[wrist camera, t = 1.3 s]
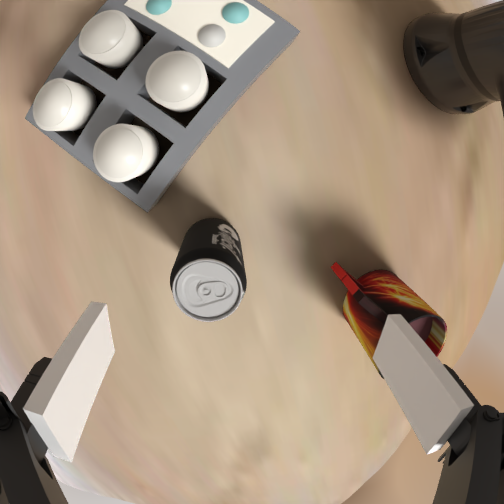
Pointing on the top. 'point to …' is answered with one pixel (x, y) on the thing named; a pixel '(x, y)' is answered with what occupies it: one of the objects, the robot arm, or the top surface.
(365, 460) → the top surface
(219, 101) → the board
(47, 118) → the button
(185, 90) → the button
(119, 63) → the button
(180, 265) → the beverage can
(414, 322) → the mug
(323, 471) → the top surface
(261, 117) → the top surface
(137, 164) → the button
